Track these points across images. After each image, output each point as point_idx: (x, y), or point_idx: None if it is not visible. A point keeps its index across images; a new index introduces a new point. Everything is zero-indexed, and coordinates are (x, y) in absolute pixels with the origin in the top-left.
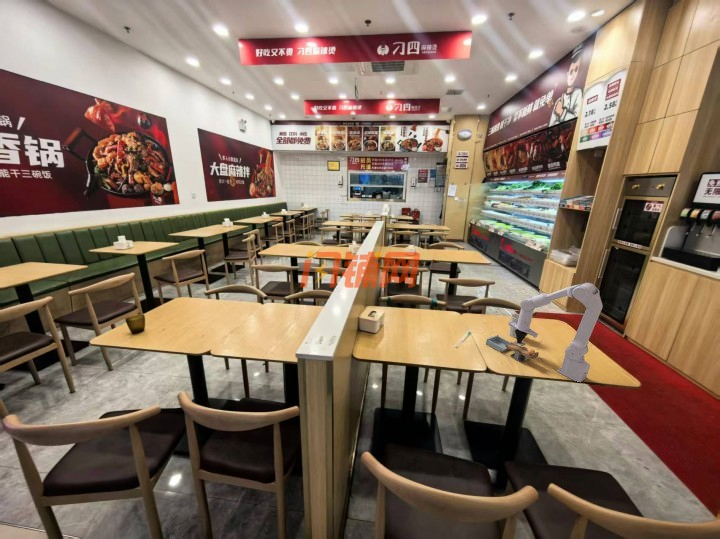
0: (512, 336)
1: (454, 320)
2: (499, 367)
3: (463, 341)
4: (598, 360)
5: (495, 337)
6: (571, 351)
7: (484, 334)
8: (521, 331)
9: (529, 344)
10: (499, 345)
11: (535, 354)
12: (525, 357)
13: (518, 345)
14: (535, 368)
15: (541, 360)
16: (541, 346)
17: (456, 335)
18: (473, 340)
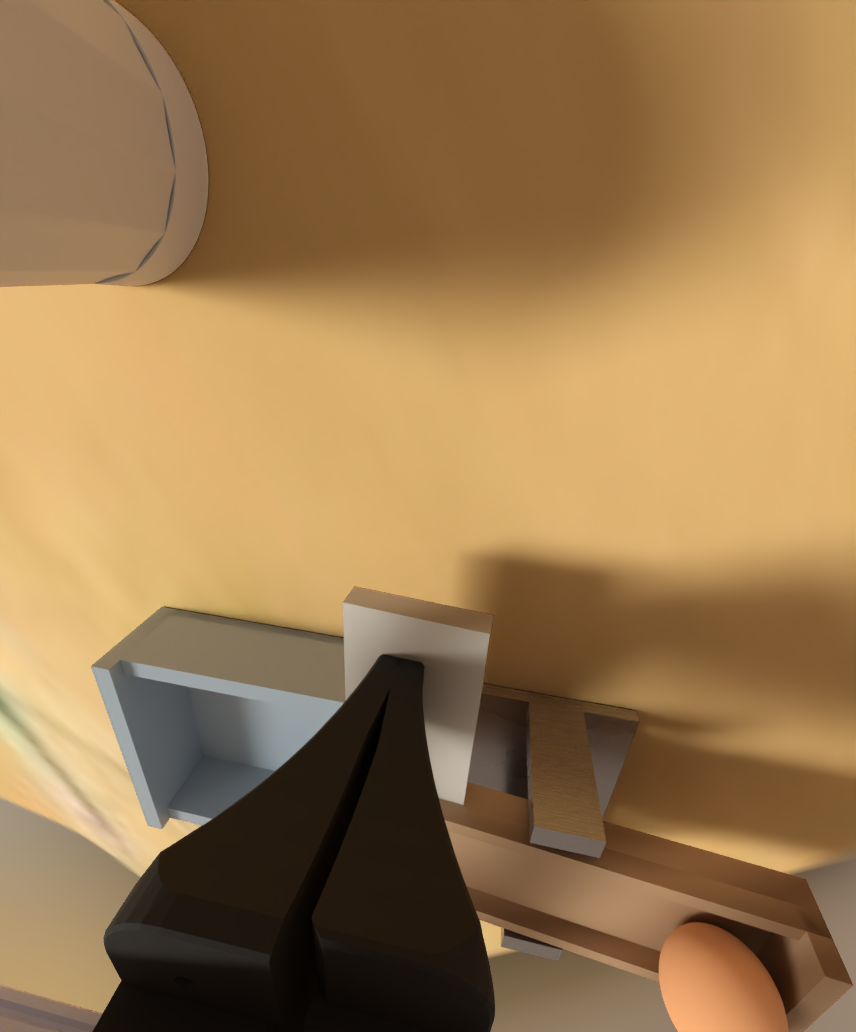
0: (140, 285)
1: None
2: (489, 947)
3: (105, 822)
4: None
5: (139, 705)
6: None
7: (17, 590)
8: (296, 1025)
9: (466, 280)
10: (270, 705)
11: (797, 1017)
12: (593, 743)
13: (459, 827)
14: (750, 827)
15: (789, 637)
16: (689, 76)
17: (8, 784)
18: (109, 765)
